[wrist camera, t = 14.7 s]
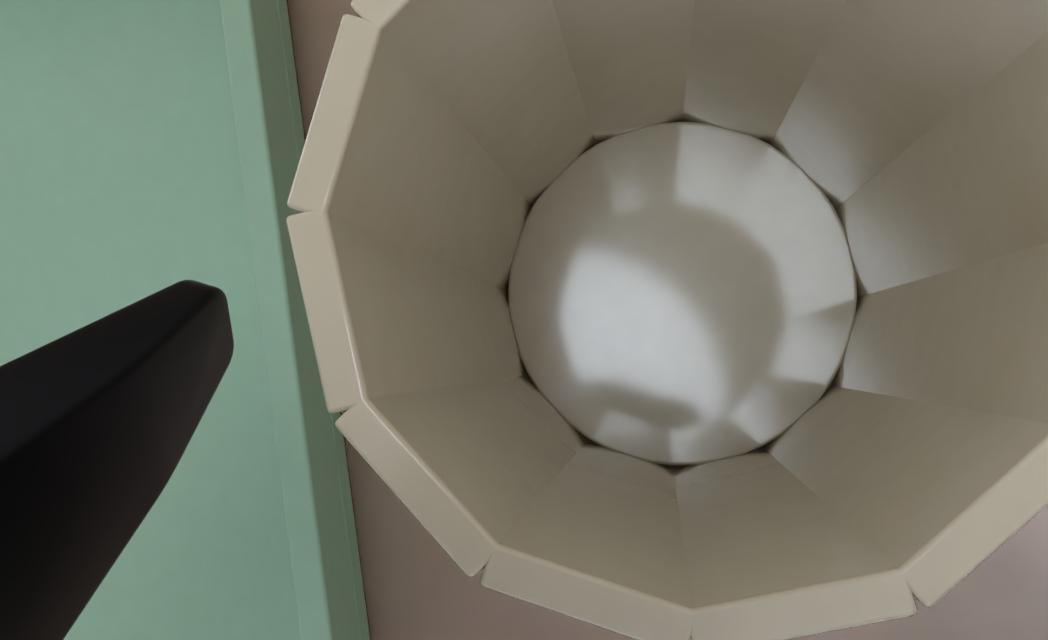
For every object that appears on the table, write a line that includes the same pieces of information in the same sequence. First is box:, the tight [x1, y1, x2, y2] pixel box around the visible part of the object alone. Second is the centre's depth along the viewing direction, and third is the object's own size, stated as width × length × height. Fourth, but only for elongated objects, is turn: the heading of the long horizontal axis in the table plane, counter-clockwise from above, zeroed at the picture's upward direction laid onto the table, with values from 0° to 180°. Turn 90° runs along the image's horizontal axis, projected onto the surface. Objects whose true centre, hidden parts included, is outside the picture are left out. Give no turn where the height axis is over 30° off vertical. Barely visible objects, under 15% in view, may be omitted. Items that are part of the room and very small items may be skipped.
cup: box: [287, 0, 1048, 640], centre depth 13 cm, size 7×7×10 cm
